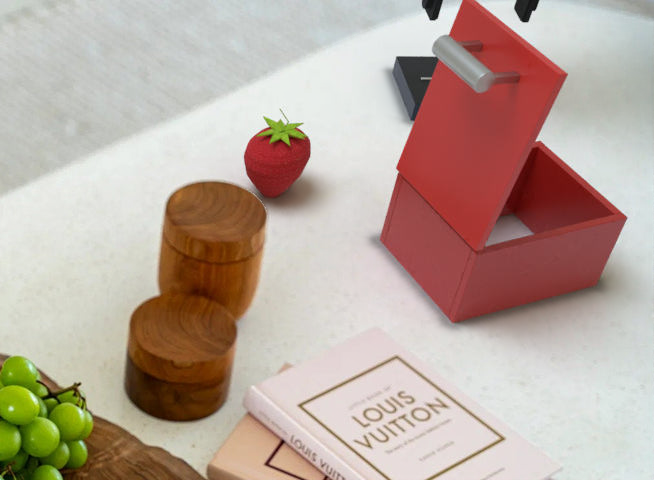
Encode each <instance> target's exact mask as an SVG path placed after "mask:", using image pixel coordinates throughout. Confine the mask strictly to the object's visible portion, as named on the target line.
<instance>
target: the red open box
mask: <svg viewBox="0 0 654 480" xmlns="http://www.w3.org/2000/svg"><path fill="white" fill-rule="evenodd" d="M395 178H396V179H395V182H394V186H393V190H392V192H391V197H390V200H389V204H388V207H387V211H386V215H385V219H384V222H383V226H382V229H381V233H380V237H379V241H380V243H381V244H382V245H383V246H384V247H385V248H386V250H388V252H389V253H391V255H392V256H393V257H394V258H395V259H396V260H397V262H398V263H399V264H400V265H401V266H402V267H403V269H404V270H405V271H406V272H407V273H408V274H409V275H410V276H411V277H412V279H413V280H414V281H415V282H416V283H417V284H418V285H419V287H420V288H421V289H422V290H423V291H424V292H425V294H426V295H427V296H428V297H429V298H430V299H431V300H432V302H433V303H434V304H435V305H436V306H437V308H439V309H440V310H441V312H442V313H443V314H444V315H445V316H446V317H447V318H448V320H449V321H450V322H451V323H452V324H455V323H458V322H463V321H466V320H470V319H474V318H477V317H481V316H485V315H486V316H487V315H489V314H493V313H496V312H501V311H504V310H508V309H512V308H515V307H520V306H524V305H527V304H532V303H535V302H539V301H542V300H547V299H550V298H554V297H557V296H562V295H565V294H569V293H572V292H576V291H580V290H585V289H588V288H591V287H595V286H597V284H598V283H599V280H600V278H601V276H602V274H603V272H604V270H605V267H606V265H607V263H608V261H609V259H610V257H611V255H612V252H613V250H614V249H615V246H616V243H617V242H618V239H619V238H620V236H621V234H622V231H623V230H624V227H625V225H626V222H627V220H628V216H627V215H625V213H623V212H622V211H621V210H620V209H619V208H618V207H616V205H614V203H612V202H611V201H610V200H608V198H606V197H605V196H604V195H603V194H602V193H600V191H599V190H597V189H596V188H595V187H593V185H591V183H589V182H588V181H587V180H586V179H585V178H584V177H582V176H581V175H580V174H579V173H578V172H577V171H576V170H575V169H573V168H572V167H571V166H570V165H569V164H567V163H566V162H565V161H564V160H563V159H562V158H561V157H559V156H558V154H556V153H555V152H554V151H553V150H551V149H550V148H549V146H547V145H546V144H545V143H544V142H543V141H541V140H536V141H535V143H534V145H533V147H532V149H531V151H530V153H529V155H528V158H527V160H526V162H525V164H524V166H523V168H522V170H521V172H520V174H519V176H518V178H517V180H516V182H515V184H514V186H513V188H512V190H511V192H510V194H509V197H508V199H507V201H506V203H505V205H504V207H503V209H502V211H501V213H500V215H499V217H498V218H500V217H504V216H508V215H514V216H515V217H516V218H518V220H519V221H520V222H521V223H522V224H523V225H524V226H525V227H526V228H527V229H528V230H529V231H530V232H531V233H533V234H530V235H526V236H522V237H517V238H513V239H509V240H505V241H501V242H497V243H493V244H489V245H485V246H484V248H483V250H478V251H475V250H474V249H473V248H472V247H471V246H470V245H469V244H468V243H467V242H466V241H465V240H464V239H463V238H462V237H461V236H460V235H459V234H458V233H457V232H456V230H455V229H454V228H453V227H452V226H451V225H450V224H449V223H448V222H447V221H446V220H445V219H444V218H443V217H442V216H441V215H440V214H439V213H438V212H437V211H436V210H435V209H434V208H433V207H432V206H431V205H430V203H429V202H428V201H427V200H426V199H425V198H424V197H423V196H422V195H421V194H420V193H419V192H418V191H417V190H416V189H415V188H414V187H413V186H412V185H411V184H410V183H409V182H408V181H407V180H406V179H405V178H404V176H403V175H402V174H401V173H400V172H399V171H398V172H397V175H396V177H395Z"/></svg>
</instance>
